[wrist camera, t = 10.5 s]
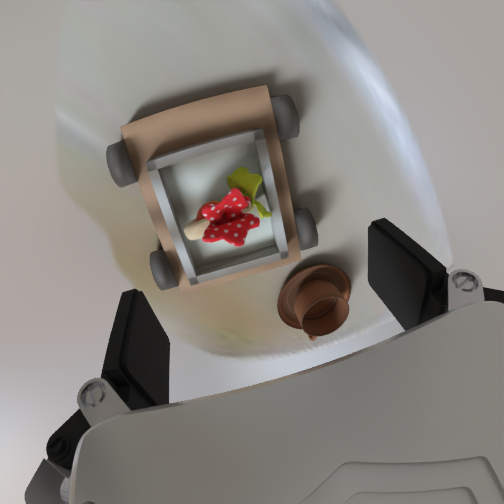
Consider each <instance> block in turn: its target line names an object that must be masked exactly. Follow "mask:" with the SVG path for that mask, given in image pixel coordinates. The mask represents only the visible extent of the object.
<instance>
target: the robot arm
mask: <svg viewBox="0 0 504 504" xmlns="http://www.w3.org/2000/svg"><path fill="white" fill-rule="evenodd" d="M446 269H447V268H446V267H445V266H443V265H442V264H441V263H440V262H439V261H438V260H437V259H435V258H434V257H433V256H432V255H431V254H430V253H428V252H427V251H426V250H425V249H424V248H422V247H421V246H420V245H419V244H418V243H416V242H415V241H414V240H413V239H411V238H410V237H409V236H408V235H406V234H405V233H404V232H403V231H401V230H400V229H399V228H398V227H396V226H395V225H394V224H392V223H391V222H390V221H388V220H387V219H386V218H382V219H379V220H375V221H372V222H371V225H370V226H369V227H368V282H369V284H370V286H371V287H372V289H373V290H374V291H375V292H376V294H377V295H378V296H379V297H380V299H381V300H382V301H383V302H384V304H385V305H386V306H387V308H388V309H389V310H390V311H391V313H392V314H393V315H394V317H395V318H396V319H397V320H398V322H399V323H400V324H401V326H402V327H403V328H404V330H405V331H404V332H402V333H400V334H398V335H395V336H393V337H391V338H389V339H386V340H384V341H382V342H379V343H377V344H375V345H372V346H369V347H367V348H364V349H362V350H359V351H357V352H354V353H352V354H349V355H346V356H344V357H341V358H338V359H336V360H333V361H330V362H327V363H324V364H321V365H319V366H316V367H312V368H310V369H307V370H303V371H300V372H297V373H294V374H291V375H288V376H284V377H281V378H278V379H274V380H270V381H267V382H263V383H259V384H256V385H252V386H248V387H244V388H240V389H237V390H232V391H228V392H224V393H220V394H215V395H210V396H205V397H201V398H196V399H191V400H186V401H181V402H176V403H170V404H169V359H170V342H169V338H168V336H167V334H166V333H165V331H164V329H163V328H162V326H161V324H160V322H159V321H158V319H157V317H156V315H155V314H154V312H153V310H152V308H151V306H150V305H149V303H148V301H147V299H146V297H145V295H144V294H143V292H142V291H138V290H137V289H132V290H129V291H126V292H123V293H122V295H121V299H120V302H119V305H118V309H117V312H116V316H115V321H114V324H113V328H112V331H111V334H110V338H109V343H108V347H107V351H106V355H105V360H104V364H103V369H102V374H101V378H94V379H91V380H89V381H87V382H86V383H85V384H84V385H83V386H82V387H81V389H80V390H79V392H78V396H77V403H78V405H79V408H80V409H79V410H78V411H77V412H75V413H74V414H73V416H71V417H70V418H69V419H68V420H67V421H66V422H65V423H64V424H63V425H62V426H61V427H60V428H59V429H58V430H57V431H56V432H55V433H54V434H52V436H51V437H50V438H49V440H48V443H47V447H46V450H47V455H48V459H47V460H46V459H43V460H42V462H41V464H40V466H39V468H38V469H37V471H36V473H35V474H34V476H33V478H32V480H31V482H30V483H29V485H28V487H27V489H26V492H25V502H26V504H504V291H501V290H495V289H490V288H484V287H483V285H482V282H481V279H480V278H479V277H478V276H477V275H476V274H475V273H473V272H471V271H469V270H463V269H461V270H460V269H459V270H455V271H453V272H451V273H450V275H449V274H448V273H447V272H446Z"/></svg>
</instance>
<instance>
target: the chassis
mask: <svg viewBox="0 0 504 504" xmlns="http://www.w3.org/2000/svg"><path fill="white" fill-rule="evenodd" d="M120 128H121V131H122V135H123V138H124V140H122V141H120V142H117V143H115V144H112V145H110V146H108V147H107V151H106V157H107V164H108V168H109V171H110V173H111V176H112V178H113V180H114V181H115V183H116V184H117V185H118V186H119V187H124V186H127V185H130V184H132V183H135V182H138V183H139V186H140V189H141V192H142V194H143V197H144V200H145V203H146V205H147V208H148V211H149V213H150V216H151V219H152V221H153V224H154V226H155V229H156V232H157V234H158V237H159V239H160V242H161V244H162V246H163V249H160V250H157V251H154V252H151V254H150V266H151V271H152V274H153V277H154V280H155V282H156V284H157V286H158V287H159V289H160V290H166V289H170V288H174V287H177V286H178V285H179V287H180V289H181V291H182V293H183V294H185V293H189V292H193V291H196V290H200V289H203V288H207V287H210V286H214V285H217V284H221V283H224V282H228V281H231V280H235V279H238V278H242V277H245V276H249V275H252V274H256V273H259V272H263V271H266V270H269V269H273V268H276V267H279V266H283V265H286V264H290V263H293V262H296V261H300V260H301V254H300V250H301V251H302V250H305V249H309V248H312V247H315V246H317V245H318V233H317V228H316V225H315V221H314V219H313V216H312V214H311V213H310V211H309V210H308V209H307V208H303V209H299V210H296V211H293V207H292V202H291V196H290V191H289V186H288V181H287V175H286V170H285V165H284V160H283V155H282V150H281V146H280V140H285V139H290V138H295V137H297V136H298V135H299V118H298V113H297V110H296V107H295V104H294V102H293V100H292V99H291V97H290V96H289V95H282V96H276V97H271V98H270V96H269V92H268V87H267V85H263V86H258V87H253V88H248V89H243V90H238V91H234V92H230V93H225V94H221V95H217V96H213V97H209V98H206V99H202V100H198V101H195V102H191V103H188V104H185V105H181V106H178V107H175V108H172V109H168V110H165V111H162V112H159V113H156V114H154V115H151V116H148V117H145V118H142V119H140V120H137V121H134V122H132V123H129V124H127V125H124V126H122V127H120ZM239 167H246V168H247V169H248V171H249V173H250V174H258V175H260V176H261V177H262V182H261V183H260V185H259V186H258V188H257V192H256V195H255V198H254V200H257V201H258V202H260V203H261V204H262V206H264V207H265V209H266V211H269V212H271V213H272V216H271V217H267V218H266V217H264V218H263V219H262V218H260V216H259V213H258V211H257V208H256V206H254V207H253V209H252V211H250V212H249V213H251V214H253V215H255V216H257V217H258V218H259V219H260V226H259V227H256V228H253V229H250V230H249V231H248V234H247V236H246V240H245V243H244V245H243V246H240V247H236V246H234V245H232V244H230V243H228V242H227V241H225V240H219V241H216V242H212V243H207V242H204V241H202V238H200V239H196V240H189V239H188V238H187V237H186V235H185V233H184V227H185V226H186V224H188V223H189V222H190V221H192V220H193V219H195V218H196V216H197V213H198V211H199V209H200V208H201V207H202V206H203V205H204V204H206V203H208V202H210V201H219V202H221V201H222V199H223V198H224V197H225V196H226V195H227V194H228V193H229V192H230V190H231V189H230V188H229V186H228V182H227V177H228V176H229V175H231V174H232V173H233V172H234V171H235V170H236V169H237V168H239Z"/></svg>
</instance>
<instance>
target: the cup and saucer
mask: <svg viewBox="0 0 504 504" xmlns="http://www.w3.org/2000/svg"><path fill="white" fill-rule="evenodd" d="M350 294H351V283H350V280H349V278H348V276H347V275H346V273H345V272H343V271H342V270H341V269H339V268H337V267H335V266H332V265H324V264H322V265H315V266H311V267H308V268H305V269H303V270H301V271H300V272H298V273H296V274H295V275H294V276H293V277H291V278H290V279H289V280H288V281H287V282H286V284H285V285H284V286H283V288H282V290H281V292H280V294H279V297H278V303H277V308H278V313H279V316H280V318H281V319H282V321H283V322H284V323H286V324H287V325H288V326H290V327H293V328H296V329H303V330H304V332H305V333H307V334H308V337H309V339H310V340H311V341H314V340H315V339H316V337H317V336H324V335H327V334H330V333H332V332H334V331H335V330H337V329H338V328H339V327H340V326H341V325H342V324H343V323H344V322H345V320H346V319H347V317H348V314H349V305H348V300H349V298H350ZM312 336H313V337H312Z"/></svg>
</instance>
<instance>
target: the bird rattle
mask: <svg viewBox="0 0 504 504" xmlns="http://www.w3.org/2000/svg"><path fill="white" fill-rule="evenodd" d="M227 182H228V186H229V188H230V189H231V190H230V192H229V193H228V194H227V195H226V196H225V197H224V198H223V199H222V201H221V202H219V201H210V202H208V203H206V204H204V205H203V206H202V207H201V208H200V209H199V211H198V213H197V216H196V218H195V219H193V220H192V221H190V222H189V223H188V224H186V226H185V227H184V233H185V235H186V237H187V238H188V239H189V240H196V239H200V238H202V241H204V242H207V243H212V242H216V241H219V240H225V241H227V242H228V243H230V244H232V245H234V246H236V247H240V246H243V245H244V243H245V240H246V236H247V234H248V231H249V230H250V229H253V228H256V227H259V226H260V219H259V218H258V217H257V216H255V215H253V214H251V213H249V212H250V211H252V209H253V207H254V206H256V208H257V211H258V213H259V216H260V218H262V219H263V218H264V217H266V218H267V217H271V216H272V213H271V212H269V211H266V209H265V207H264V206H262V204H261V203H260V202H258V201H257V200H254V198H255V195H256V192H257V188H258V186H259V185H260V183H261V182H262V177H261V176H260V175H258V174H250V173H249V171H248V169H247V168H246V167H239V168H237V169H236V170H235V171H234V172H233V173H232V174H231V175H229V176H228V177H227Z"/></svg>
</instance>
